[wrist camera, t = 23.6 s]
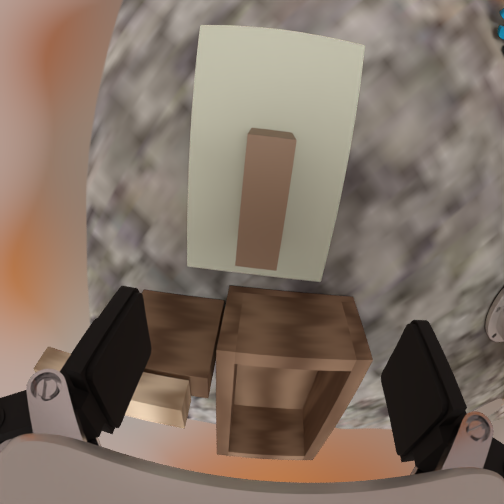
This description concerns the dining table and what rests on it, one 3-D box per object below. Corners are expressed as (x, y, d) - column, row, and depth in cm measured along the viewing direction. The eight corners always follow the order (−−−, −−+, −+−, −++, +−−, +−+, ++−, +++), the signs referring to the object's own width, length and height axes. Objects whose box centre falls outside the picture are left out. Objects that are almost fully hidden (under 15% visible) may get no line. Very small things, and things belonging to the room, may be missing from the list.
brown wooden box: (353, 296, 31) (376, 373, 22) (309, 409, 42) (313, 469, 33) (142, 274, 31) (101, 343, 22) (163, 393, 42) (146, 450, 33)
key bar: (188, 380, 23) (181, 410, 20) (191, 400, 24) (184, 428, 21) (48, 346, 23) (33, 368, 20) (58, 367, 24) (45, 388, 22)
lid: (359, 48, 20) (383, 36, 15) (318, 273, 31) (326, 311, 25) (204, 28, 20) (185, 11, 15) (190, 258, 31) (175, 293, 25)
